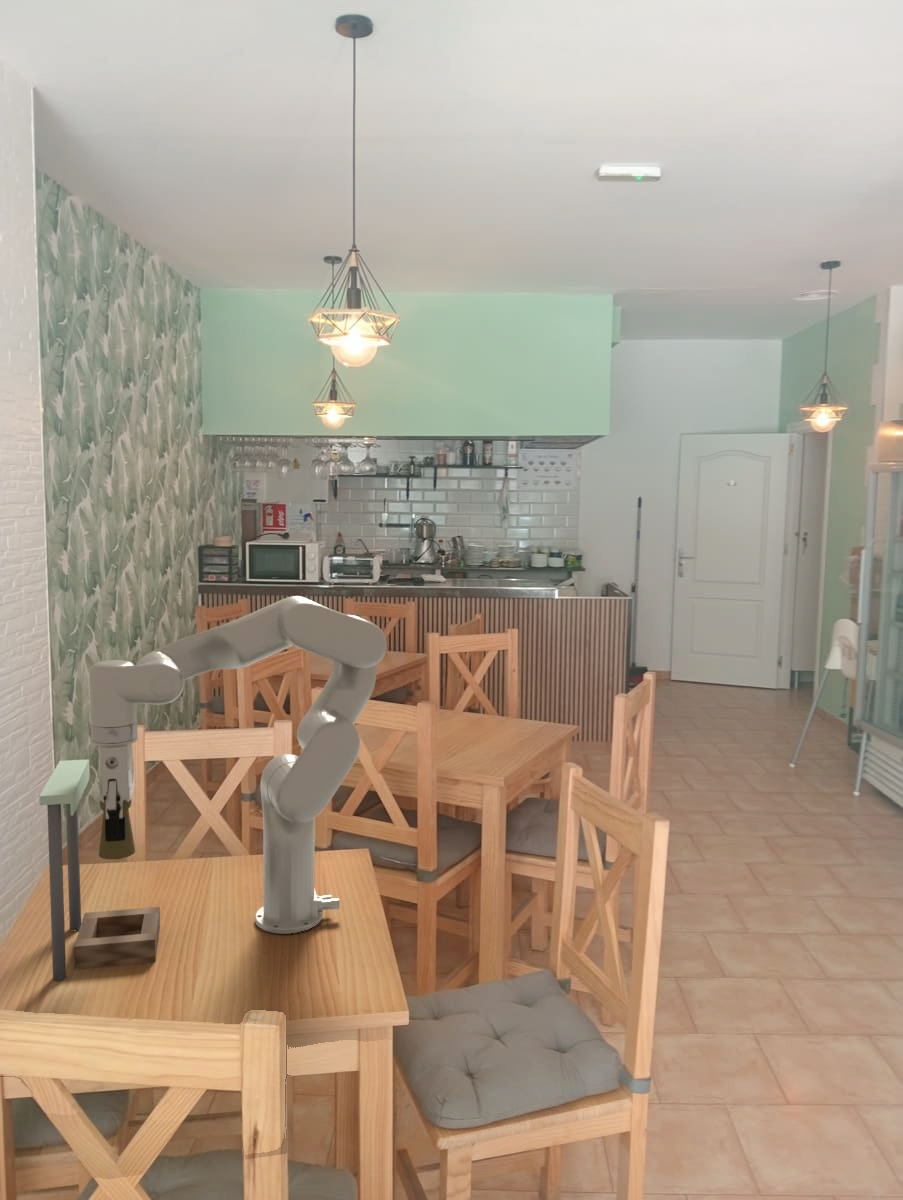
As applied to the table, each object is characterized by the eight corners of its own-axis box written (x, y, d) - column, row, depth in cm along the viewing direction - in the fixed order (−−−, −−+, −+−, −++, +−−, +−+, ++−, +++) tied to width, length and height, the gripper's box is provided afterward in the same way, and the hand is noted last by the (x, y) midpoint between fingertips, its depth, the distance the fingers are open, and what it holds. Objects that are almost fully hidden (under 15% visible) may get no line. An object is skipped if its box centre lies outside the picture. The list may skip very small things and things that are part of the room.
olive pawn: (123, 860, 162) (122, 798, 161) (91, 857, 163) (89, 795, 162) (142, 847, 168) (140, 787, 166) (110, 844, 169) (109, 785, 168)
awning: (93, 924, 176) (89, 759, 172) (78, 979, 157) (72, 794, 153) (64, 927, 175) (59, 760, 171) (45, 982, 155) (39, 796, 152)
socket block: (159, 927, 175) (159, 906, 175) (155, 961, 163) (154, 939, 162) (85, 933, 172) (84, 912, 172) (74, 969, 160) (74, 946, 159)
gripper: (133, 744, 156) (135, 851, 158) (141, 720, 172) (143, 817, 174) (84, 746, 154) (87, 855, 156) (97, 721, 170) (100, 820, 172)
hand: (117, 834), depth 165 cm, fingers closed on olive pawn, 4 cm apart
